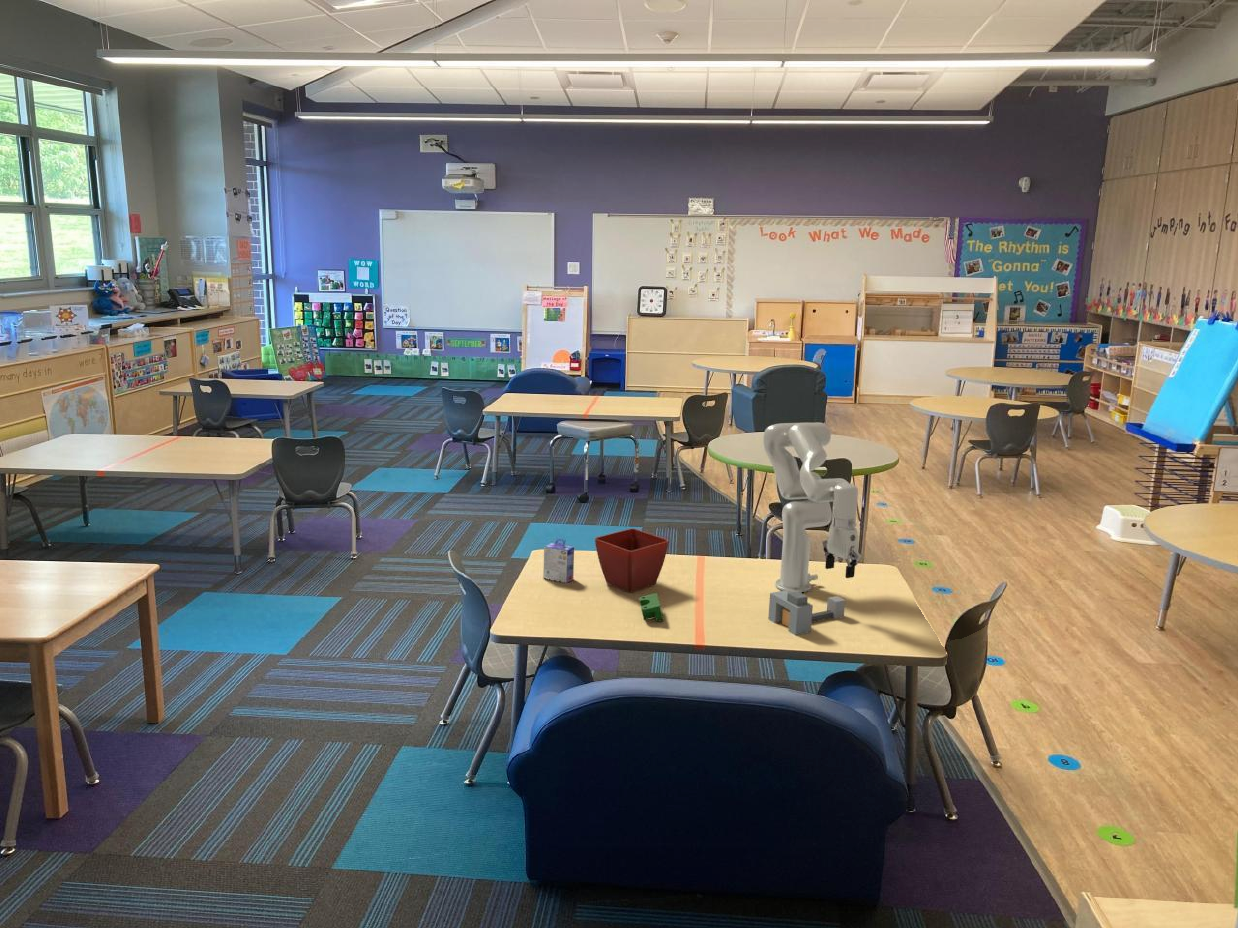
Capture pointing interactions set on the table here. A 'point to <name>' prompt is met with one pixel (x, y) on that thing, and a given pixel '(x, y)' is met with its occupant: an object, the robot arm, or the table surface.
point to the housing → (791, 610)
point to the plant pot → (631, 558)
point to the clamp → (651, 607)
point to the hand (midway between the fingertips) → (839, 572)
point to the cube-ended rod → (833, 611)
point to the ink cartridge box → (558, 562)
